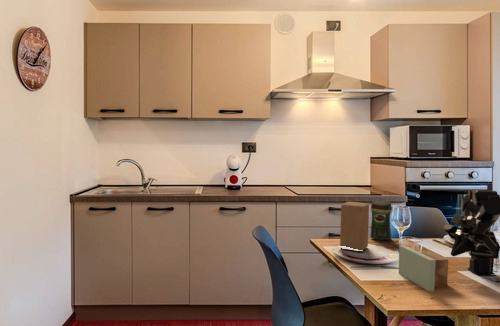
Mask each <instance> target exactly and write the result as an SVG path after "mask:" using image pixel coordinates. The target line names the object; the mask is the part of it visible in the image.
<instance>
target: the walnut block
mask: <svg viewBox="0 0 500 326" xmlns="http://www.w3.org/2000/svg"><path fill="white" fill-rule="evenodd" d="M421 253H422V254H424V255H426V256H428V257H430V258H433V259H435V260H436V263H435V286H445V285H448V278H449V277H448V275H449V274H448V273H449V272H448V271H449V259H448V258H445V257H443V256H441V255H439V254H436V253H434V252H432V251H431V252H430V251H427V252H426V251H425V252H424V251H423V252H421Z"/></svg>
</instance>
